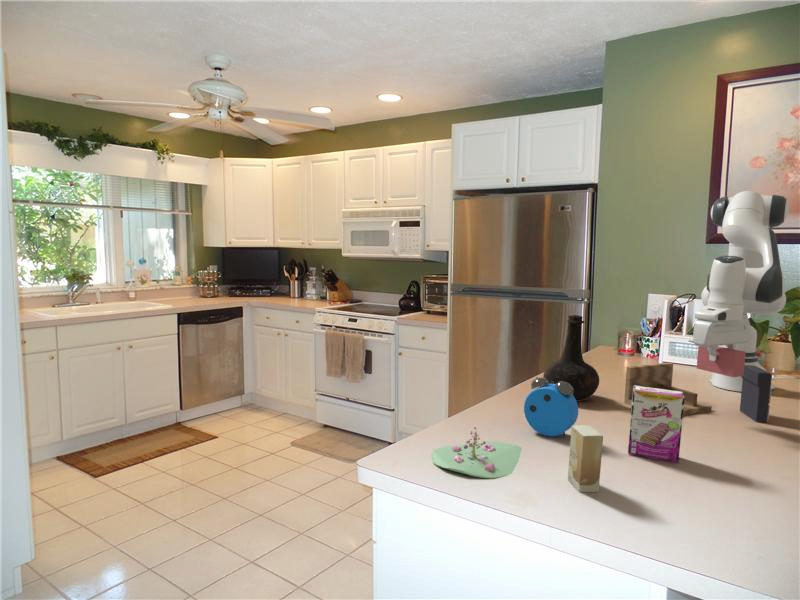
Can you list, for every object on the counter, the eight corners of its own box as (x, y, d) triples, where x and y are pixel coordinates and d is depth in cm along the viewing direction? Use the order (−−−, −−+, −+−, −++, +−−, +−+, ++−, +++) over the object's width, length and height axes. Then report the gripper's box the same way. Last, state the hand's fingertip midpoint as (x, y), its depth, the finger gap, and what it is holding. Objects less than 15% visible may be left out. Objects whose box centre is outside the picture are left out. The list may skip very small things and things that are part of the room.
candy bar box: (627, 455, 125) (632, 389, 123) (628, 448, 129) (632, 384, 127) (679, 464, 120) (685, 396, 118) (678, 456, 124) (683, 390, 123)
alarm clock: (577, 436, 136) (580, 381, 135) (569, 443, 131) (572, 386, 130) (531, 425, 144) (533, 373, 143) (521, 431, 139) (524, 377, 138)
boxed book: (706, 367, 155) (708, 344, 154) (743, 375, 145) (745, 351, 144) (696, 368, 153) (698, 345, 152) (733, 377, 143) (735, 352, 143)
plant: (469, 434, 138) (471, 401, 137) (542, 454, 125) (544, 418, 124) (414, 463, 118) (415, 425, 117) (493, 491, 106) (495, 448, 105)
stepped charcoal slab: (770, 423, 151) (774, 373, 149) (753, 422, 152) (758, 372, 150) (752, 411, 162) (756, 365, 160) (737, 410, 162) (741, 364, 161)
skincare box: (566, 479, 111) (570, 424, 109) (586, 478, 111) (589, 424, 110) (579, 493, 104) (583, 435, 103) (600, 493, 105) (604, 435, 103)
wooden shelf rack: (666, 396, 176) (669, 362, 175) (711, 410, 162) (714, 373, 161) (624, 402, 168) (626, 366, 167) (667, 417, 154) (670, 378, 152)
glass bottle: (539, 401, 168) (543, 316, 165) (545, 387, 184) (549, 310, 182) (597, 408, 161) (603, 320, 158) (598, 394, 178) (603, 314, 175)
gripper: (736, 309, 154) (732, 354, 156) (690, 312, 146) (686, 360, 148) (758, 312, 149) (754, 359, 150) (711, 315, 140) (707, 365, 142)
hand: (720, 359), depth 149 cm, fingers closed on boxed book, 4 cm apart
